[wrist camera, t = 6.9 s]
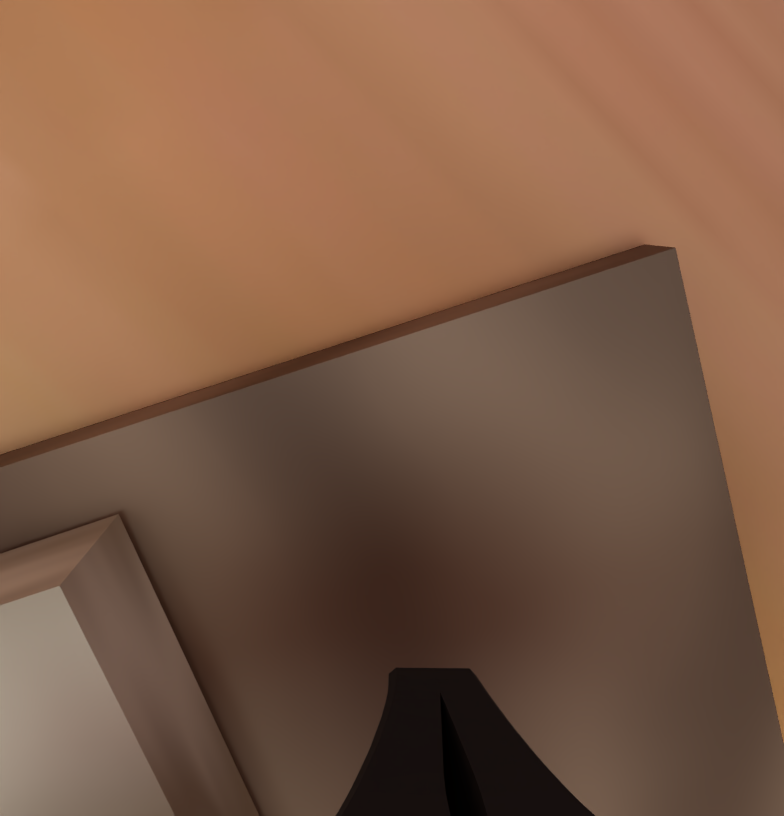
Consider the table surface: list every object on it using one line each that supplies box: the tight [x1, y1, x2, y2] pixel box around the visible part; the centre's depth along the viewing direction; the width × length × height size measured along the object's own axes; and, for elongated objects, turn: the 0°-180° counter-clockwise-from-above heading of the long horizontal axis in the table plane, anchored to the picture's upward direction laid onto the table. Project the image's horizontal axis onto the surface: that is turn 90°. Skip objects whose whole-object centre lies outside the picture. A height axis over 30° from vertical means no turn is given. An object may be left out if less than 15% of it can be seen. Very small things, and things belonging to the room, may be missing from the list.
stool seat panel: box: [0, 245, 784, 816], centre depth 15 cm, size 16×15×4 cm
